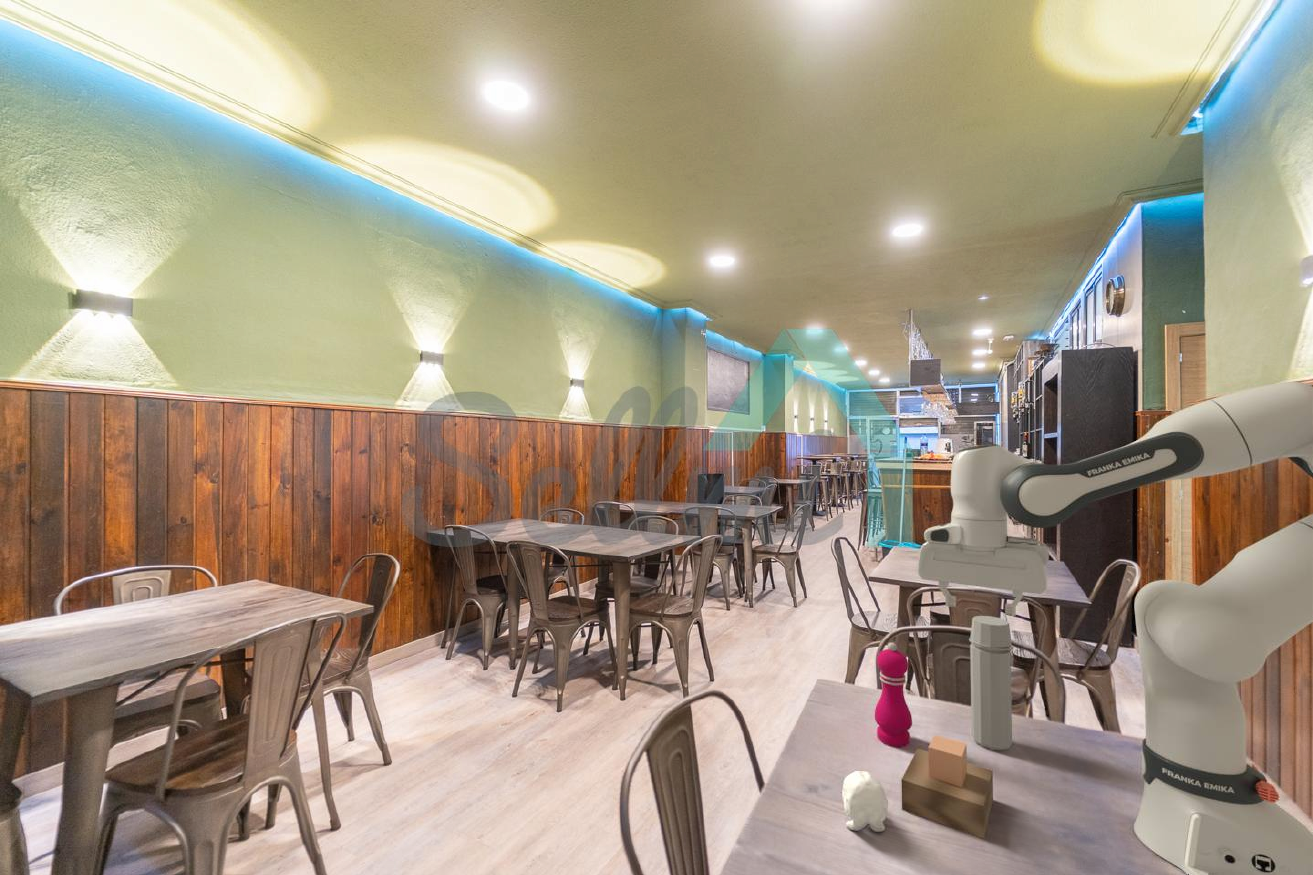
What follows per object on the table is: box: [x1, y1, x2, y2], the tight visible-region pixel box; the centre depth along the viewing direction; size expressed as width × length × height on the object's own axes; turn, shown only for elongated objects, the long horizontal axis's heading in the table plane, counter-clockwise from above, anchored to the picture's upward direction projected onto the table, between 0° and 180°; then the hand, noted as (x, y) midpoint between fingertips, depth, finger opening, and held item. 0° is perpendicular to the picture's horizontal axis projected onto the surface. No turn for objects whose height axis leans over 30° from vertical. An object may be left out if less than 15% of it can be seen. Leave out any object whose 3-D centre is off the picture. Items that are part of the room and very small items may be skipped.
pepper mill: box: [874, 642, 913, 748], centre depth 118 cm, size 7×7×20 cm
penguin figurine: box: [840, 770, 889, 833], centre depth 93 cm, size 6×8×12 cm
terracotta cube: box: [927, 734, 968, 787], centre depth 96 cm, size 5×5×5 cm
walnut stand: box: [900, 748, 994, 839], centre depth 96 cm, size 12×12×5 cm
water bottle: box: [968, 615, 1014, 751], centre depth 117 cm, size 9×8×25 cm
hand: (979, 610), depth 102 cm, fingers open, 8 cm apart
